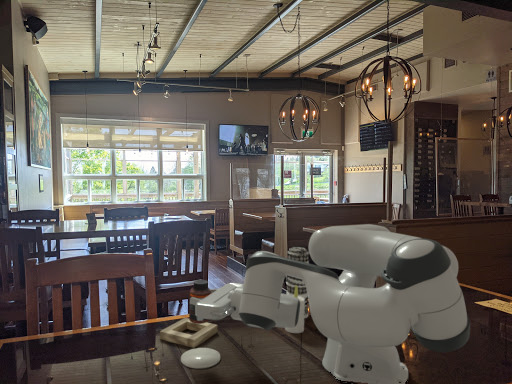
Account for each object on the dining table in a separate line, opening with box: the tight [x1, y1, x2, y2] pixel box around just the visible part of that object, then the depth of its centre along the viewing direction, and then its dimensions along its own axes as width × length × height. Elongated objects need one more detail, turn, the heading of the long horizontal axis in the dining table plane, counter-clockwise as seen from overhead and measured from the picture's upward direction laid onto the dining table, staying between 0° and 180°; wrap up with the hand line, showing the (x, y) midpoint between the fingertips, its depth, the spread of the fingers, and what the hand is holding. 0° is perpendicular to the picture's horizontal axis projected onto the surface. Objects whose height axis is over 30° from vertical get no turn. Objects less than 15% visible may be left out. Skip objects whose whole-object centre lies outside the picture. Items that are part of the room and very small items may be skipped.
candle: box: [284, 285, 305, 334], centre depth 131 cm, size 6×6×15 cm
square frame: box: [159, 317, 218, 349], centre depth 125 cm, size 13×13×2 cm
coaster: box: [180, 347, 221, 370], centre depth 110 cm, size 11×11×1 cm
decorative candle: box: [285, 246, 310, 319], centre depth 145 cm, size 9×9×25 cm
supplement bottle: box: [188, 279, 211, 324], centre depth 111 cm, size 6×6×11 cm
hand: (197, 295), depth 111 cm, fingers closed on supplement bottle, 6 cm apart
